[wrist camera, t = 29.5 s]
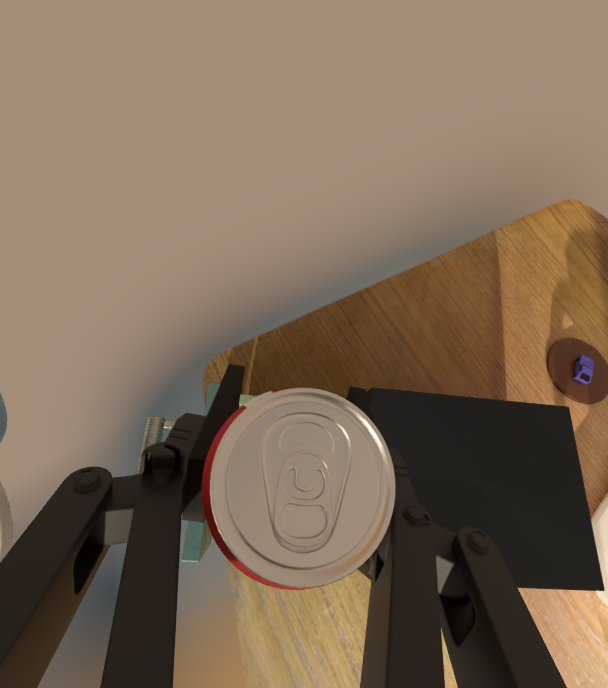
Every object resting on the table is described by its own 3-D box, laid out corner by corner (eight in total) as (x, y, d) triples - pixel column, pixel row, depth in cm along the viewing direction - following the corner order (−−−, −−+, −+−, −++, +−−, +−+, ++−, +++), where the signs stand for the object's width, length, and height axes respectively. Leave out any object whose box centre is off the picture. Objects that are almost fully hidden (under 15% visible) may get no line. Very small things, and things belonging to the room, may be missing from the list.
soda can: (323, 434, 21) (405, 383, 10) (320, 535, 19) (415, 611, 8) (232, 427, 21) (211, 365, 9) (219, 531, 19) (175, 604, 8)
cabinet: (340, 555, 34) (372, 582, 25) (343, 408, 39) (371, 387, 30) (516, 563, 36) (605, 591, 27) (498, 422, 40) (569, 406, 32)
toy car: (612, 358, 46) (624, 354, 44) (603, 415, 43) (615, 413, 41) (553, 328, 46) (563, 323, 44) (540, 383, 43) (550, 379, 42)
